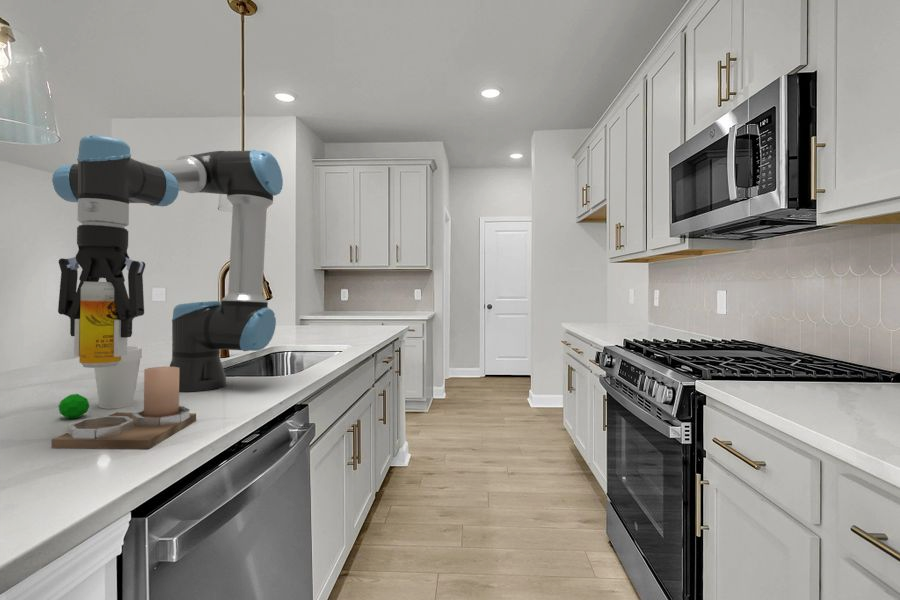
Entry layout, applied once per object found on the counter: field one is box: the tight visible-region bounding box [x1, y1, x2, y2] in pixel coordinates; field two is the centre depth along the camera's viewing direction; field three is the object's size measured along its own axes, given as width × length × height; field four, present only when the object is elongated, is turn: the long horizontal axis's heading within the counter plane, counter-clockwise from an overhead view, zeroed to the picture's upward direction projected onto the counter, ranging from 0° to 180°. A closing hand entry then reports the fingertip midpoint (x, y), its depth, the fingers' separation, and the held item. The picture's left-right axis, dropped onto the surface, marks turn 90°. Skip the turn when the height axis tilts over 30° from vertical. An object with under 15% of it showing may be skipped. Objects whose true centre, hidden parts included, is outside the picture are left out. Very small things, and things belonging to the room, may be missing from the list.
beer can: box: [78, 281, 121, 369], centre depth 89 cm, size 6×6×15 cm
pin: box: [143, 366, 180, 417], centre depth 98 cm, size 6×6×10 cm
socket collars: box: [66, 405, 191, 439], centre depth 94 cm, size 17×16×2 cm
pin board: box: [50, 411, 197, 450], centre depth 94 cm, size 18×16×2 cm
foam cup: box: [93, 345, 143, 409], centre depth 113 cm, size 10×9×13 cm
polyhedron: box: [58, 393, 90, 420], centre depth 102 cm, size 5×5×5 cm
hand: (101, 355), depth 89 cm, fingers closed on beer can, 6 cm apart
